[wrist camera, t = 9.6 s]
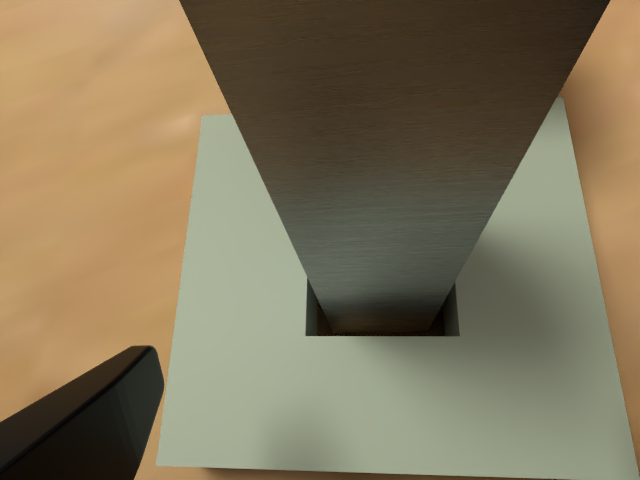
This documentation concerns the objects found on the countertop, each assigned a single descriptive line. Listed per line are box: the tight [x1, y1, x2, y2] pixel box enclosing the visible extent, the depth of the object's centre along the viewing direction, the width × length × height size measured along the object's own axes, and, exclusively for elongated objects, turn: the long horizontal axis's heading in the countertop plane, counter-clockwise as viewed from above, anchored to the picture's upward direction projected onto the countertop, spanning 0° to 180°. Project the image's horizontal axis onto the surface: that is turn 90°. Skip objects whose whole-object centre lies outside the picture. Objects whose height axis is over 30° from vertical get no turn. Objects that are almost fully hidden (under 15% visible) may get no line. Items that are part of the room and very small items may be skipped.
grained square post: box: [179, 0, 610, 334], centre depth 11 cm, size 3×3×15 cm
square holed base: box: [156, 97, 640, 480], centre depth 15 cm, size 17×13×9 cm
